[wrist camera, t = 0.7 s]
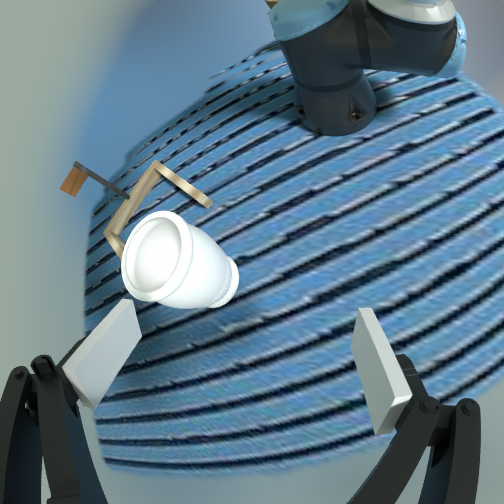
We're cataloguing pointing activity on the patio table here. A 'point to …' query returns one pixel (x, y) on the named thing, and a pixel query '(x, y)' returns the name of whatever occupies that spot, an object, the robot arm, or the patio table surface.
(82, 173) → the box
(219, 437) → the patio table surface
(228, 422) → the patio table surface
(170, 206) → the patio table surface
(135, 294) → the jar
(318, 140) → the patio table surface
